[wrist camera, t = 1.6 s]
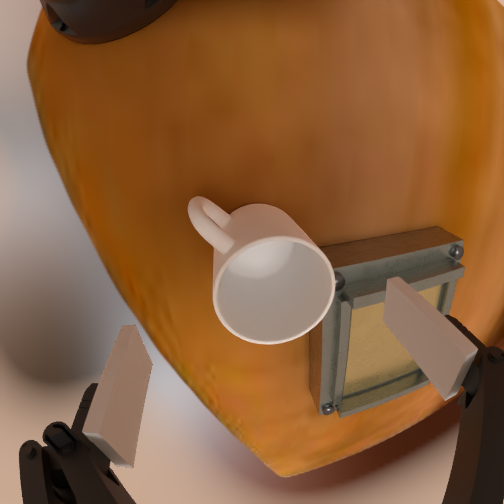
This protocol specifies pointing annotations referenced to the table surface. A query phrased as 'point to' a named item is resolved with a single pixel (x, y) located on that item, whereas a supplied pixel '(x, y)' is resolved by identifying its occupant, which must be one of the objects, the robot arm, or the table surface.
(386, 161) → the table surface
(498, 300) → the table surface
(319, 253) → the cup
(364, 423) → the table surface
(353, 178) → the table surface
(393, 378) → the silver and gold block
